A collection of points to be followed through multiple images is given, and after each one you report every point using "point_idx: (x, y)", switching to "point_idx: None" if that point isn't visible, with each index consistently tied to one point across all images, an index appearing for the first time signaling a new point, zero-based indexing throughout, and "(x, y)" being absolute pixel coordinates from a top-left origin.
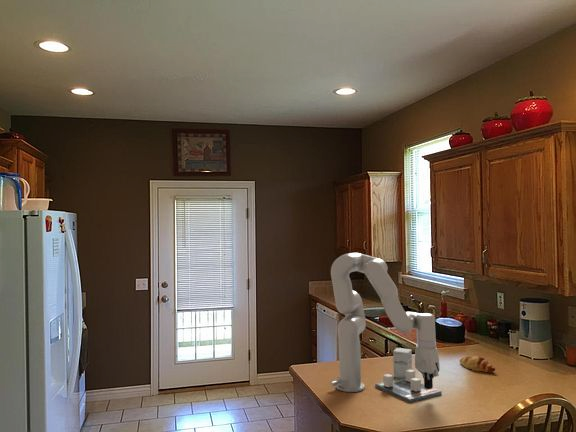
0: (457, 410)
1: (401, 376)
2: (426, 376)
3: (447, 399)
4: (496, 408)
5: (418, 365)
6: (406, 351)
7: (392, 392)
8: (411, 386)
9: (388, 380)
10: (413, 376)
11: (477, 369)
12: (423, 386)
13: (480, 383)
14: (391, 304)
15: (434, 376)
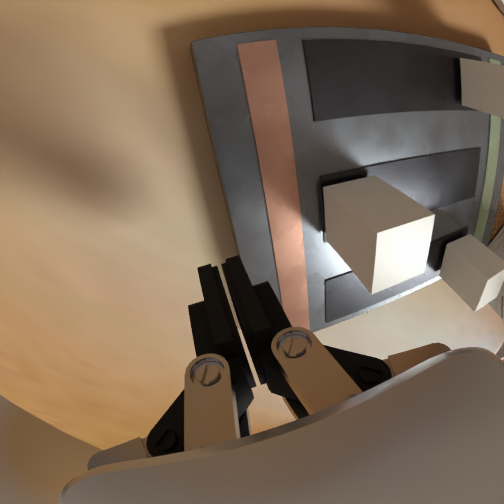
0: (13, 307)
1: (495, 246)
2: (272, 375)
3: (177, 333)
4: (63, 420)
5: (452, 454)
6: None
7: (400, 32)
8: (382, 187)
9: (498, 69)
10: (459, 282)
11: None
12: None
13: None
14: None
15: (122, 445)
